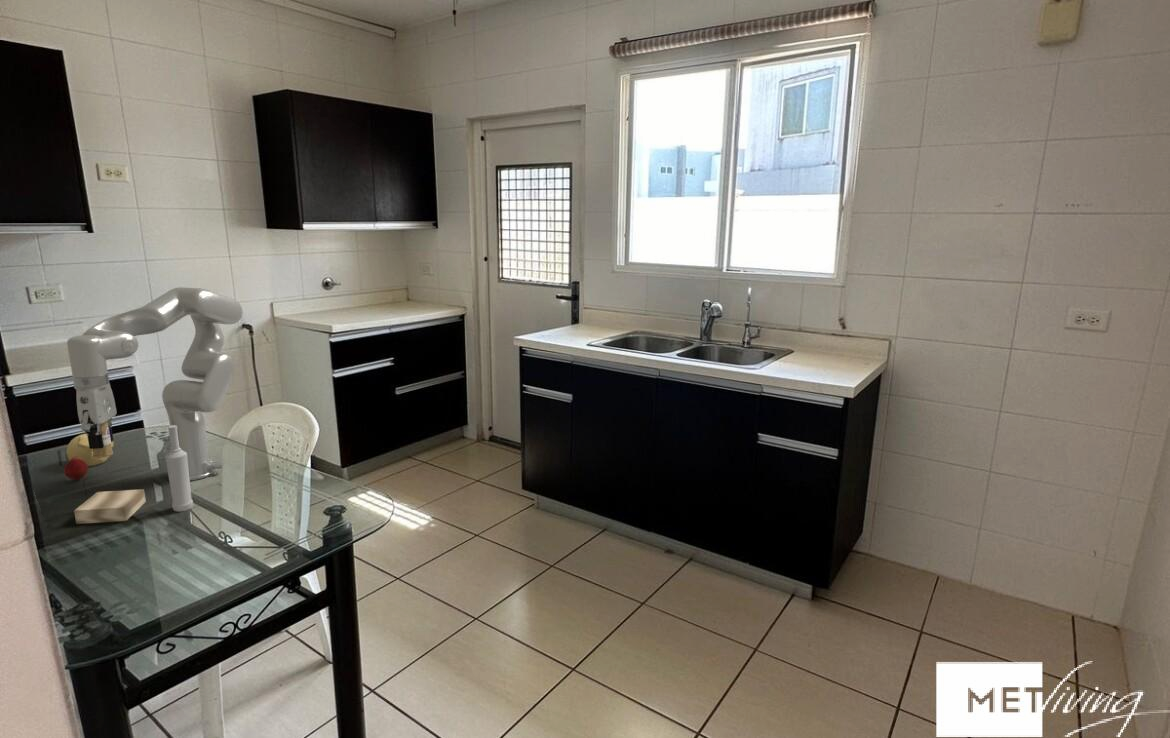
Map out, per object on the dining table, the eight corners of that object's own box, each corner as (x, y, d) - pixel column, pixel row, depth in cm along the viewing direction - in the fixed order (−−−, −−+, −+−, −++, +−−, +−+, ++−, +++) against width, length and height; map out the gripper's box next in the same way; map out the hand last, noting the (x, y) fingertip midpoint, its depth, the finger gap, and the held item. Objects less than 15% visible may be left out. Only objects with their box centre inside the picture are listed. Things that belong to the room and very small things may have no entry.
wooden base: (145, 501, 183) (144, 489, 182) (126, 520, 172) (124, 507, 171) (99, 504, 181) (97, 491, 180) (76, 524, 169) (74, 510, 168)
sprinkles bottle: (112, 456, 172) (105, 410, 169) (92, 459, 169) (84, 412, 166) (113, 451, 175) (106, 406, 172) (93, 454, 173) (86, 408, 170)
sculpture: (96, 470, 204) (91, 439, 202) (60, 468, 204) (54, 438, 202) (122, 457, 215) (117, 427, 213) (88, 456, 215) (83, 426, 213)
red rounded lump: (79, 484, 193) (75, 460, 191) (61, 483, 193) (56, 459, 192) (94, 476, 199) (90, 453, 197) (76, 476, 199) (72, 452, 197)
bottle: (197, 506, 182) (187, 425, 176) (180, 513, 177) (168, 430, 171) (186, 502, 184) (175, 422, 178) (168, 509, 179) (157, 427, 173)
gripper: (90, 389, 160) (101, 455, 164) (122, 373, 176) (131, 434, 180) (57, 390, 158) (68, 456, 163) (92, 374, 174) (102, 435, 179)
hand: (101, 444), depth 171 cm, fingers closed on sprinkles bottle, 4 cm apart
